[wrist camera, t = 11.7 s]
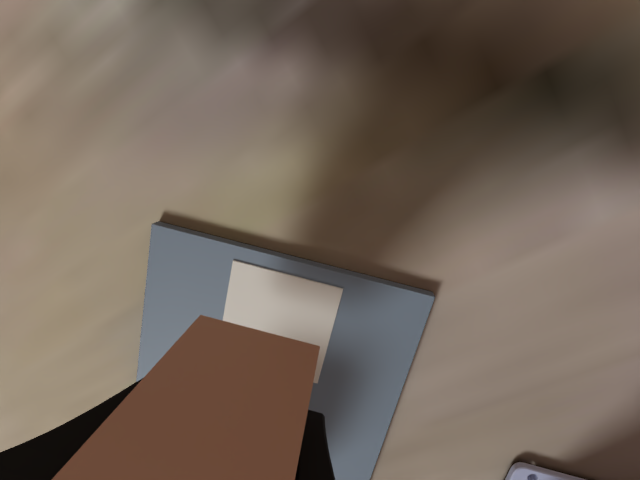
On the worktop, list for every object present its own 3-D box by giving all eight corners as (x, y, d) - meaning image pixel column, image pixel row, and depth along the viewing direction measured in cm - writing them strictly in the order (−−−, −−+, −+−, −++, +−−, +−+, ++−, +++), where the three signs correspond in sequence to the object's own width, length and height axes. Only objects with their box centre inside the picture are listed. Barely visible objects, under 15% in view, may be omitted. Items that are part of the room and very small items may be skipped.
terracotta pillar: (320, 346, 13) (278, 566, 6) (294, 442, 14) (237, 710, 8) (200, 314, 13) (36, 496, 6) (185, 412, 14) (35, 649, 8)
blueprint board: (432, 291, 18) (435, 297, 17) (350, 524, 22) (349, 536, 21) (158, 221, 18) (150, 224, 17) (133, 462, 23) (126, 472, 22)
